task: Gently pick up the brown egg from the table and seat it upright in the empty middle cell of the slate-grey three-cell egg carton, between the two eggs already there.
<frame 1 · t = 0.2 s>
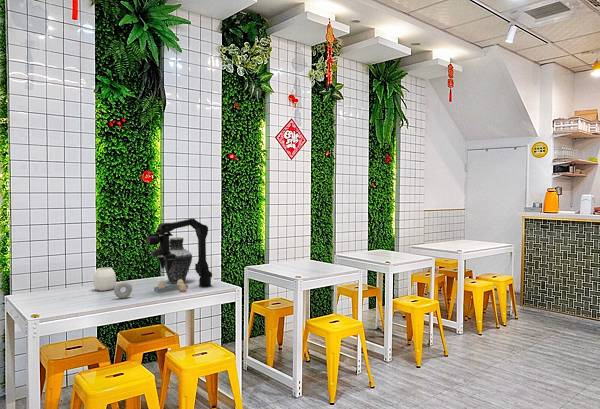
hand: (165, 269, 295), 14 cm above the table, tool pointing down, fingers open, 9 cm apart
jug: (176, 282, 326), on the table
cream rounded canister: (105, 290, 305), on the table
grey ring: (123, 298, 281), on the table
carton: (171, 289, 304), on the table
egg: (182, 291, 297), on the table
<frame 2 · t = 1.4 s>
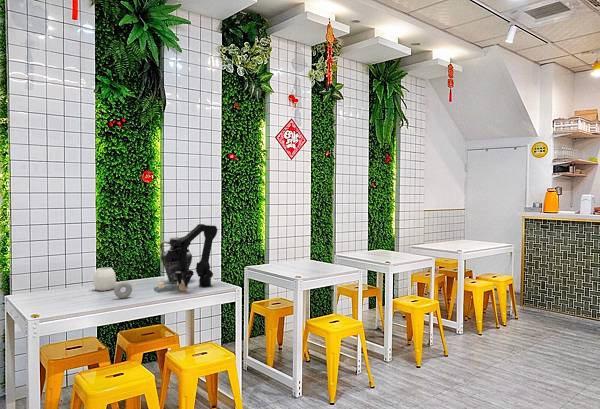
hand: (182, 285, 297), 4 cm above the table, tool pointing down, fingers open, 9 cm apart
nothing on the table moved.
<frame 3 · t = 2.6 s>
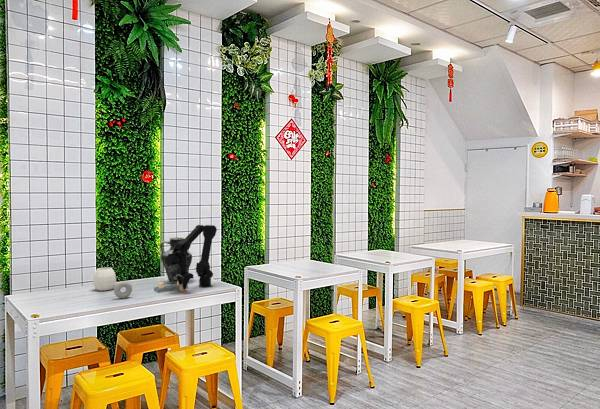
hand: (182, 288, 297), 2 cm above the table, tool pointing down, fingers closed on egg, 4 cm apart
egg: (182, 291, 297), on the table, touching gripper
everything else where it was.
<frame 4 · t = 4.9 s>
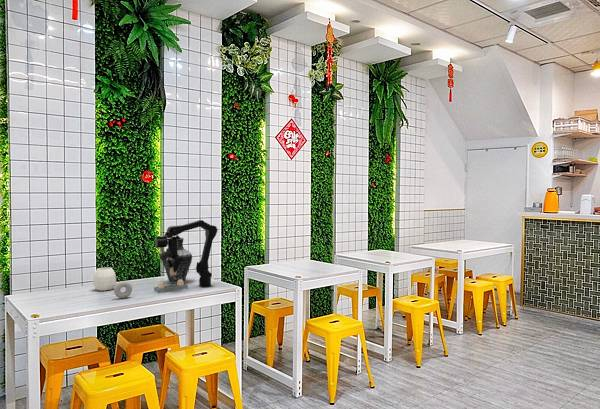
hand: (173, 271, 301), 11 cm above the table, tool pointing down, fingers closed on egg, 4 cm apart
egg: (173, 274, 301), point 9 cm above the table, touching gripper
everything else where it was.
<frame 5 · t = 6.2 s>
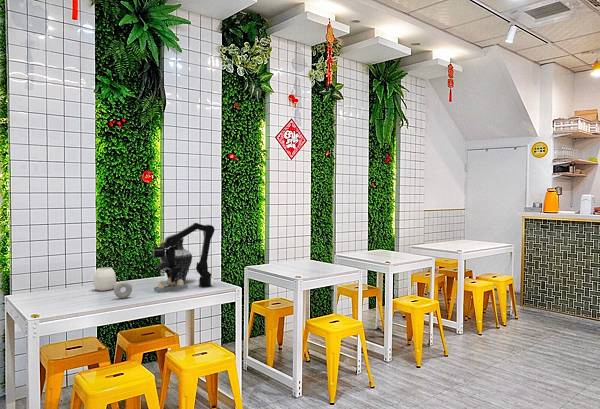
hand: (171, 281, 303), 5 cm above the table, tool pointing down, fingers closed on egg, 4 cm apart
egg: (171, 284, 303), point 3 cm above the table, touching gripper
everything else where it was.
when the fingers open (4 cm above the table, at t = 7.1 s): egg drops 1 cm, resting on carton.
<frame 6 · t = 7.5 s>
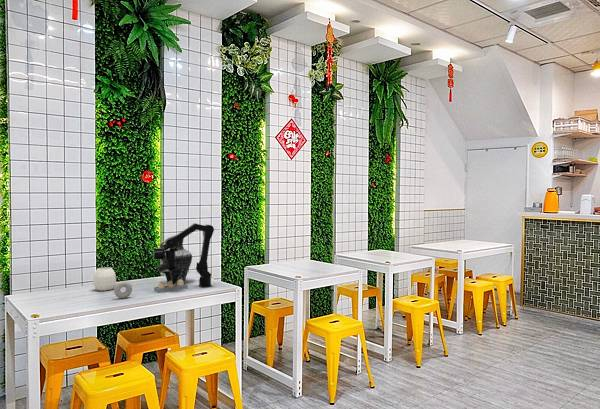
hand: (171, 283, 303), 4 cm above the table, tool pointing down, fingers open, 8 cm apart
egg: (171, 288, 304), point 1 cm above the table, touching carton
everything else where it was.
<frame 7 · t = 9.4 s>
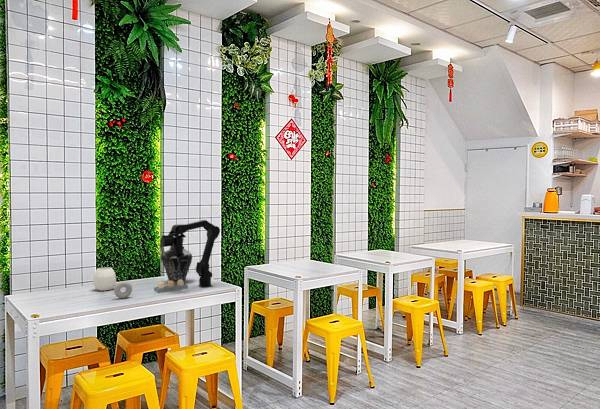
hand: (178, 270, 300), 12 cm above the table, tool pointing down, fingers open, 9 cm apart
nothing on the table moved.
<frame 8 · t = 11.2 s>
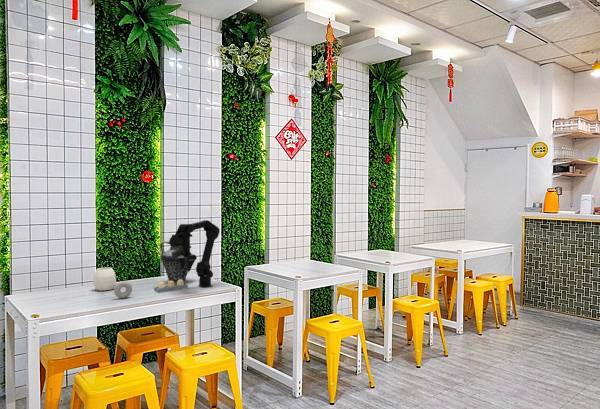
hand: (185, 270, 297), 13 cm above the table, tool pointing down, fingers open, 9 cm apart
nothing on the table moved.
at the end: egg 0.0 cm off-centre on the carton, point 0.6 cm above the carton's base; egg tilted 0°; the gripper is holding nothing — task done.
